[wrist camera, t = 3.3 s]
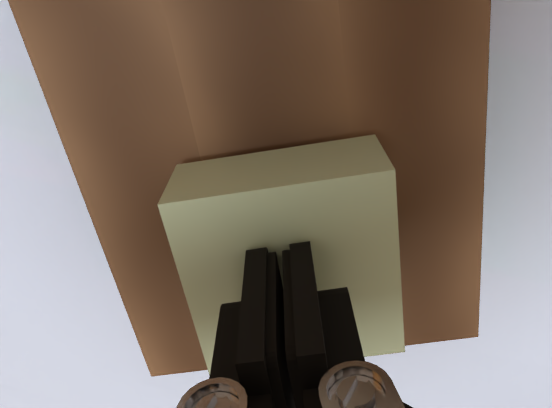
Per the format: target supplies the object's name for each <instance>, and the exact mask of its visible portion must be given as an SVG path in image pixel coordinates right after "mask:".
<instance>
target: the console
mask: <svg viewBox="0 0 552 408" xmlns="http://www.w3.org/2000/svg"><path fill="white" fill-rule="evenodd" d="M8 2H9V4H10V7H11V10H12V12H13V15H14V18H15V20H16V23H17V25H18V28H19V31H20V33H21V36H22V38H23V41H24V44H25V46H26V49H27V52H28V54H29V57H30V59H31V62H32V65H33V67H34V70H35V73H36V75H37V78H38V80H39V83H40V86H41V88H42V91H43V94H44V96H45V99H46V101H47V104H48V107H49V109H50V112H51V115H52V117H53V120H54V122H55V125H56V128H57V130H58V133H59V135H60V138H61V141H62V143H63V146H64V149H65V151H66V154H67V156H68V159H69V162H70V164H71V167H72V170H73V172H74V175H75V177H76V180H77V183H78V185H79V188H80V191H81V193H82V196H83V198H84V201H85V204H86V206H87V209H88V212H89V214H90V217H91V219H92V222H93V225H94V227H95V230H96V233H97V235H98V238H99V240H100V243H101V246H102V248H103V251H104V253H105V256H106V259H107V261H108V264H109V267H110V269H111V272H112V274H113V277H114V280H115V282H116V285H117V288H118V290H119V293H120V295H121V298H122V301H123V303H124V306H125V309H126V311H127V314H128V316H129V319H130V322H131V324H132V327H133V330H134V332H135V335H136V337H137V340H138V343H139V345H140V348H141V350H142V353H143V356H144V358H145V361H146V364H147V366H148V369H149V371H150V374H151V376H159V375H168V374H176V373H184V372H192V371H200V370H208V368H207V365H206V362H205V359H204V355H203V352H202V349H201V346H200V342H199V339H198V336H197V332H196V329H195V326H194V323H193V319H192V316H191V313H190V310H189V306H188V303H187V300H186V296H185V293H184V290H183V287H182V283H181V280H180V277H179V274H178V270H177V267H176V264H175V261H174V257H173V254H172V251H171V247H170V244H169V241H168V238H167V234H166V231H165V228H164V225H163V221H162V218H161V215H160V211H159V208H158V205H157V204H158V202H159V200H160V198H161V196H162V194H163V192H164V190H165V188H166V186H167V184H168V182H169V179H170V177H171V175H172V173H173V171H174V169H175V167H176V165H177V164H184V163H191V162H197V161H204V160H210V159H217V158H223V157H230V156H236V155H243V154H249V153H256V152H263V151H269V150H276V149H282V148H289V147H295V146H302V145H308V144H315V143H321V142H328V141H334V140H341V139H348V138H354V137H361V136H367V135H374V134H375V135H376V137H377V139H378V141H379V142H380V144H381V146H382V147H383V149H384V151H385V153H386V154H387V156H388V158H389V160H390V161H391V163H392V165H393V166H394V168H395V173H396V192H397V211H398V230H399V249H400V268H401V287H402V306H403V325H404V344H405V346H406V345H414V344H422V343H430V342H438V341H447V340H455V339H463V338H471V337H478V327H479V300H480V274H481V248H482V222H483V195H484V169H485V143H486V116H487V90H488V64H489V38H490V11H491V0H8Z"/></svg>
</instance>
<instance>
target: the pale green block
mask: <svg viewBox="0 0 552 408" xmlns="http://www.w3.org/2000/svg"><path fill="white" fill-rule="evenodd" d="M157 205H158V208H159V211H160V215H161V218H162V221H163V225H164V228H165V231H166V234H167V238H168V241H169V244H170V247H171V251H172V254H173V257H174V261H175V264H176V267H177V270H178V274H179V277H180V280H181V283H182V287H183V290H184V293H185V296H186V300H187V303H188V306H189V310H190V313H191V316H192V319H193V323H194V326H195V329H196V332H197V336H198V339H199V342H200V346H201V349H202V352H203V355H204V359H205V362H206V365H207V368H208V372H209V375H210V371H211V364H212V357H213V351H214V344H215V338H216V331H217V325H218V318H219V312H220V307H221V305H222V304H224V303H231V302H239V301H241V296H242V285H243V274H244V263H245V253H246V250H250V249H257V248H264V247H267V249H268V253H269V252H276V254H277V259H278V265H279V270H280V275H281V280H282V286H283V269H282V251H283V250H290V248H289V244H293V243H300V242H307V241H310V244H311V251H312V258H313V264H314V271H315V278H316V284H317V291H320V290H328V289H335V288H343V287H347V288H348V291H349V295H350V299H351V304H352V308H353V312H354V317H355V321H356V325H357V329H358V334H359V338H360V342H361V346H362V351H363V355H364V357H367V356H375V355H383V354H391V353H400V352H405V344H404V325H403V306H402V287H401V268H400V249H399V230H398V211H397V192H396V173H395V168H394V166H393V165H392V163H391V161H390V160H389V158H388V156H387V154H386V153H385V151H384V149H383V147H382V146H381V144H380V142H379V141H378V139H377V137H376V135H375V134H374V135H367V136H361V137H354V138H348V139H341V140H334V141H328V142H321V143H315V144H308V145H302V146H295V147H289V148H282V149H276V150H269V151H263V152H256V153H249V154H243V155H236V156H230V157H223V158H217V159H210V160H204V161H197V162H191V163H184V164H177V165H176V167H175V169H174V171H173V173H172V175H171V177H170V179H169V182H168V184H167V186H166V188H165V190H164V192H163V194H162V196H161V198H160V200H159V202H158V204H157Z"/></svg>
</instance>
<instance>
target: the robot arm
mask: <svg viewBox="0 0 552 408" xmlns="http://www.w3.org/2000/svg"><path fill="white" fill-rule="evenodd" d="M289 248H290V250H283V251H282V269H283V286H282V280H281V275H280V270H279V265H278V259H277V254H276V252H269V253H268V249H267V247H264V248H257V249H250V250H246V253H245V263H244V274H243V285H242V296H241V301H239V302H231V303H224V304H222V305H221V307H220V312H219V318H218V325H217V331H216V338H215V344H214V351H213V357H212V364H211V371H210V377H209V379H208V380H205V381H202V382H200V383H198V384H196V385H195V386H193V387H192V388H190V389H189V390H188V391H187V392H186V393H185V394H184V395H183V396H182V398H181V400H180V402H179V403H178V405H177V408H413V407H411V406H409V405H407V404H405V403H404V402H402V400H401V398H400V396H399V394H398V392H397V390H396V388H395V386H394V384H393V382H392V380H391V378H390V377H389V376H388V374H387V373H386V372H385V371H384V370H383V369H381V368H380V367H378V366H377V365H374V364H372V363H369V362H365V359H364V355H363V351H362V346H361V342H360V338H359V334H358V329H357V325H356V321H355V317H354V312H353V308H352V304H351V299H350V295H349V291H348V288H347V287H343V288H335V289H328V290H320V291H317V284H316V278H315V271H314V264H313V258H312V251H311V244H310V241H307V242H300V243H293V244H289Z"/></svg>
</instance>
